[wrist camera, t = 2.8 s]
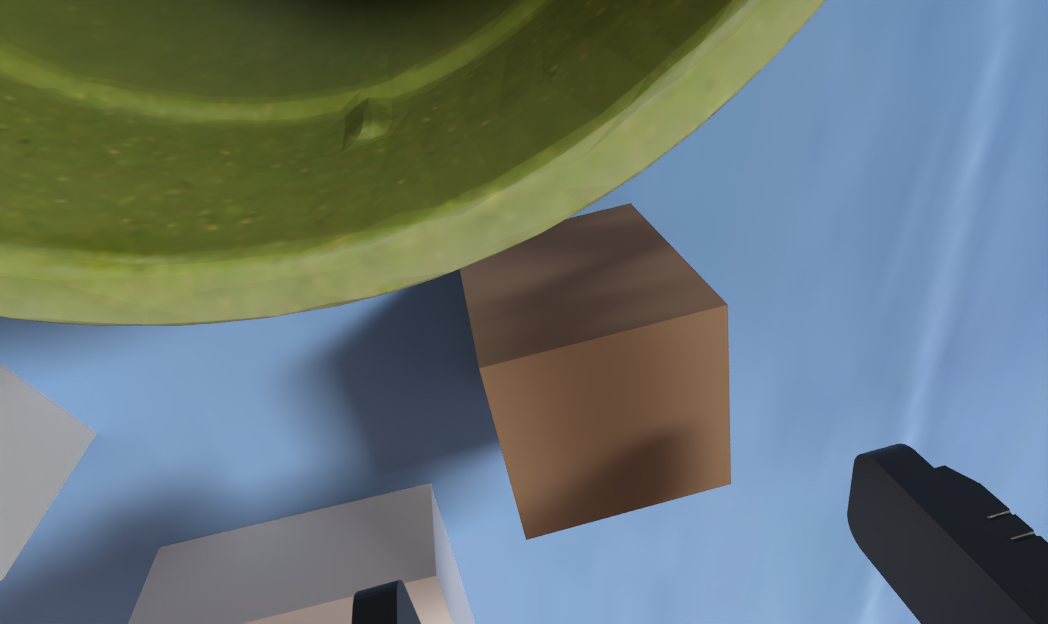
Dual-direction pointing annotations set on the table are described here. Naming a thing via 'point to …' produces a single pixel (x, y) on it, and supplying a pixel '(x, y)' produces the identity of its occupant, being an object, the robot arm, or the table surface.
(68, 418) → the grey block
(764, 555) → the table surface
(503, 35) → the plant pot
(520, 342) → the walnut cube
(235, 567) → the base block
